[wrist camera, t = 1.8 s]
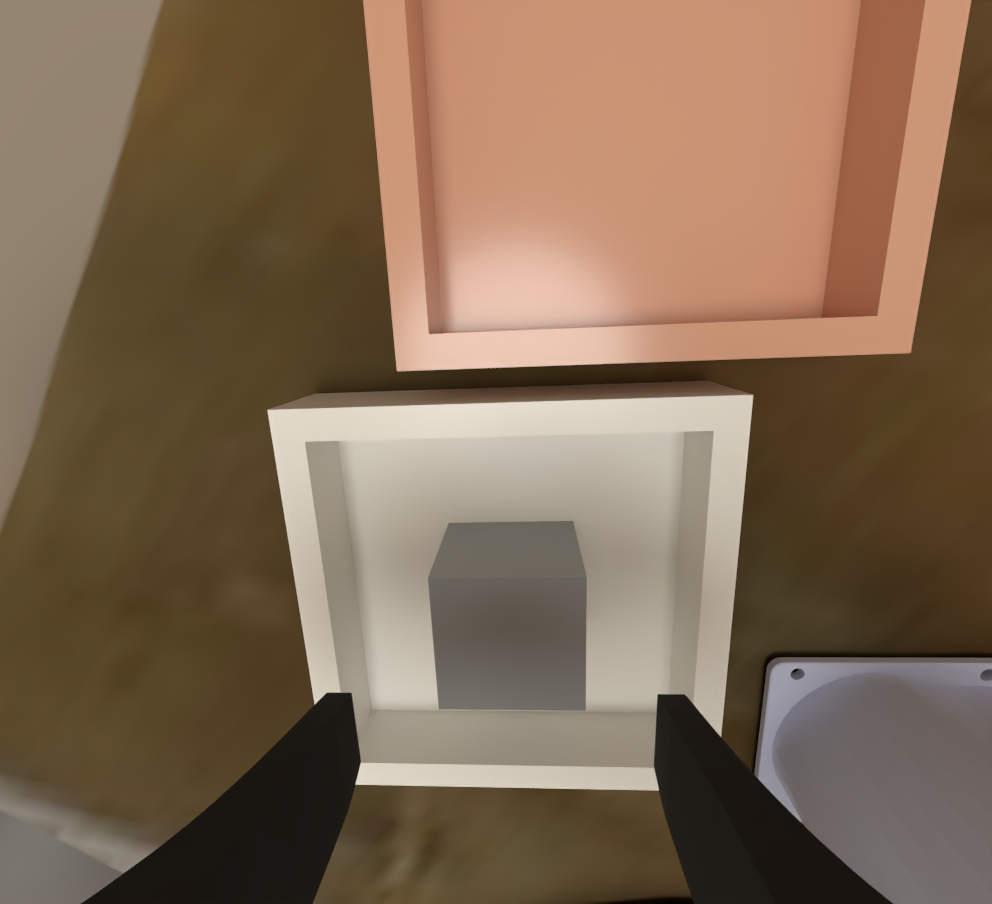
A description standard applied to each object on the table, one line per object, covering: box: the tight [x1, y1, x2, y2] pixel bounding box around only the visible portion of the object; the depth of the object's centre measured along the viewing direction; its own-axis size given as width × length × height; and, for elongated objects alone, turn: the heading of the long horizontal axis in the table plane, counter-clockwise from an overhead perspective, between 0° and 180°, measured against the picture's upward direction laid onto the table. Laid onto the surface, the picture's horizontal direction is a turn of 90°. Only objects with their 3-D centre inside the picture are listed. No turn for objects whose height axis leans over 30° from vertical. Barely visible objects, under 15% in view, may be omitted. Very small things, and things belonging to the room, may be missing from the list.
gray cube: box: [428, 521, 587, 711], centre depth 16 cm, size 4×4×4 cm
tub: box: [268, 381, 753, 790], centre depth 17 cm, size 14×14×4 cm
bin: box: [363, 0, 971, 371], centre depth 13 cm, size 14×14×4 cm
